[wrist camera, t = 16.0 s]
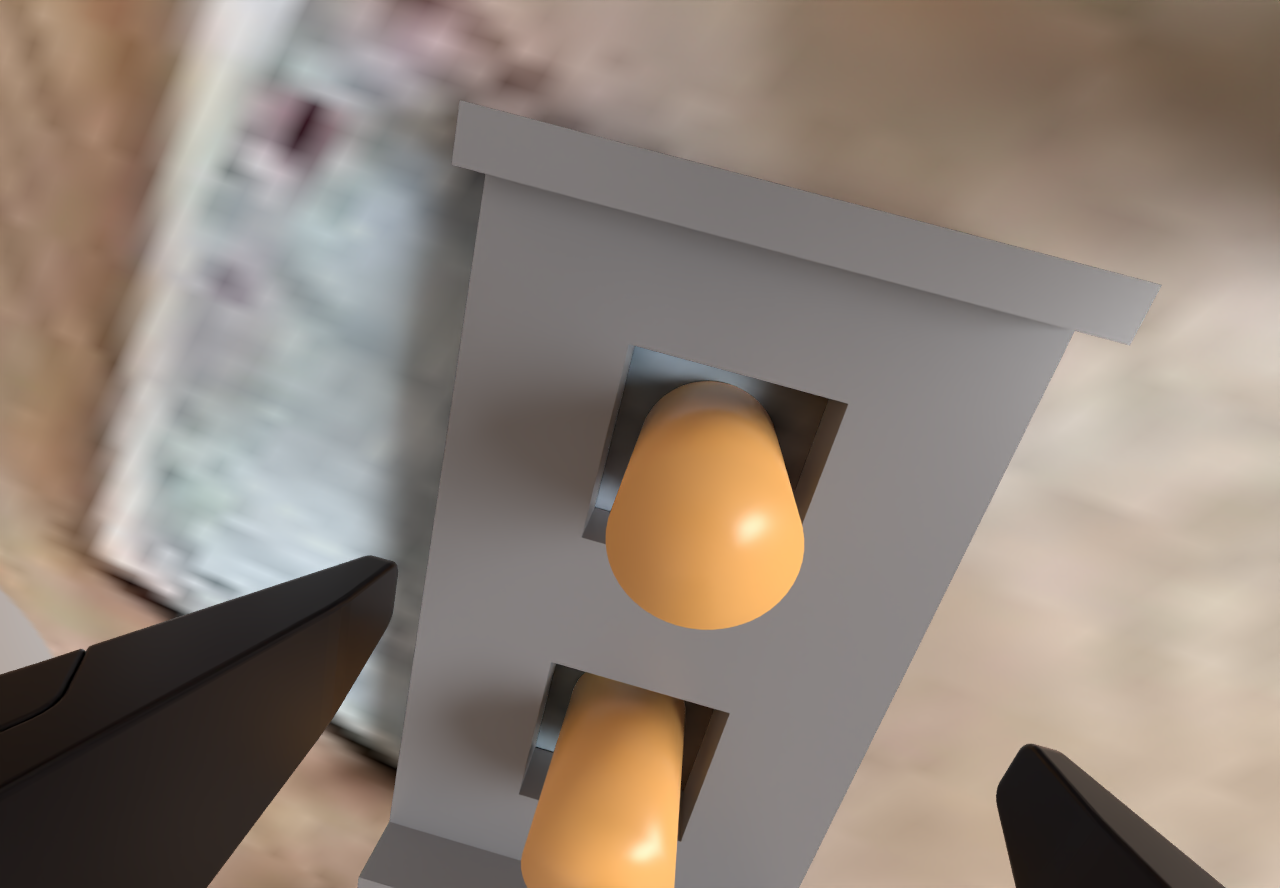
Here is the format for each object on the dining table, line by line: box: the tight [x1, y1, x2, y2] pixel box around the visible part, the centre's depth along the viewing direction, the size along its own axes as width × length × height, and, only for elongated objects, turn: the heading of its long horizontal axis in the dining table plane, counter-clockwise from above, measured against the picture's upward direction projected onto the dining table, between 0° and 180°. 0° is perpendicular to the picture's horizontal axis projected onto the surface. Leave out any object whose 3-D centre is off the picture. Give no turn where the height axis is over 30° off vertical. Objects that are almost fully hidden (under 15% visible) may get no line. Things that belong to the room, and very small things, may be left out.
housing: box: [357, 100, 1162, 888], centre depth 18 cm, size 24×14×4 cm, turn 166°
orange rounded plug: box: [606, 381, 804, 630], centre depth 15 cm, size 4×4×6 cm
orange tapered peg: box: [521, 672, 685, 888], centre depth 19 cm, size 4×4×6 cm
